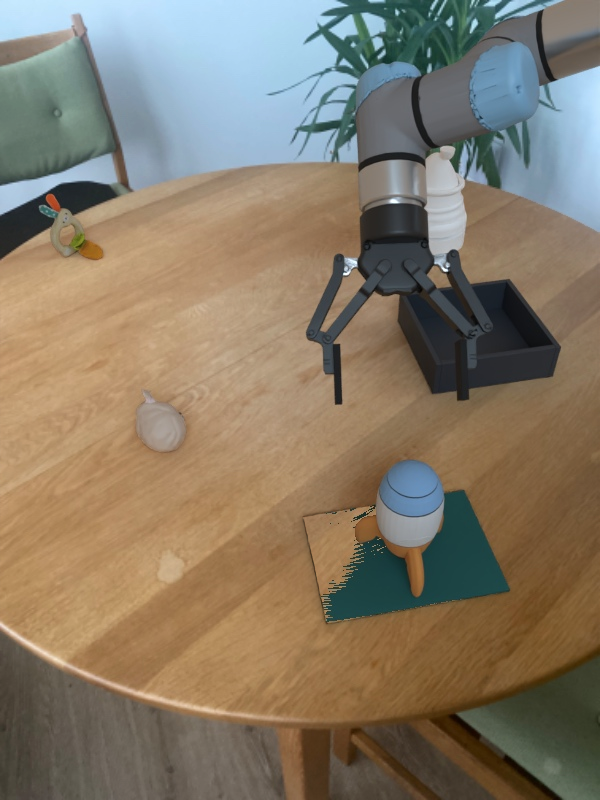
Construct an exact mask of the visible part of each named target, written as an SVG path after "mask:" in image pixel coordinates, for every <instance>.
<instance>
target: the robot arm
mask: <svg viewBox="0 0 600 800" xmlns="http://www.w3.org/2000/svg"><path fill="white" fill-rule="evenodd" d="M598 67H600V0H561V1H559V2H556V3H554V4H551V5H549V6H546V7H545V8H542V9H540V10H537V11H534V12H531V13H529V14H527V15H519V14H518V15H512V16H510V17H506V18H504V19H503V20H500V21H498V22H497V23H494V24H493V25H492V26H491V27H490V28H489V29H488V30H487V31H485V32H484V34H483V36H482V37H481V38H480V40H479V41H478V42H477V43H476V44H475V45H473V46H472V47H471V49H469V51H468V52H466V53H465V54H464V55H463V56H462V57H461V58H460V60H458V61H456V62H454V63H451V64H448V65H446V66H444V67H441V68H439V69H436V70H433V71H431V72H428V73H425V74H423V75H422V73H421V71H420V70H419V68H417V66H415V65H413V64H411V63H408V62H406V61H405V62H404V61H393V62H391V63H384V62H381V63H378V64H376V65H373V66H371V67H370V68H368V69H367V70H365V71H364V72H363V73H362V74H361V76H360V77H359V78H358V81H357V83H356V86H355V87H356V88H355V110H354V122H355V129H356V146H357V147H356V148H357V163H358V164H357V165H358V166H357V168H358V169H357V171H358V172H357V182H358V208H359V211H360V212H361V215H359V234H360V235H359V242H360V244H359V245H360V254H359V255H358V257H352V256H351V257H350V256H345V255H344V254H343V253H336V254H335V255H334V256H333V260H332V261H333V263H332V274H331V276H330V278H329V280H328V283H327V284H326V287H325V289H324V291H323V293H322V295H321V297H320V300H319V302H318V304H317V306H316V308H315V311H314V313H313V315H312V317H311V319H310V320H309V323H308V325H307V328H306V330H305V338H306V340H307V341H310V342H314V343H317V344H319V345H320V346H321V348H322V365H323V366H322V369H323V373H324V375H333V391H334V406H341V405H343V382H342V381H343V379H342V355H341V354H342V352H341V350H342V349H341V343H335V341H336V340H337V339H338V337H340V335H341V334H342V333H343V331H344V330H345V329H346V327H348V325H349V324H350V322H351V321H352V320H353V318H355V316H356V315H357V314H358V312H359V311H360V309H362V307H363V306H364V305H365V304H366V302H368V300H369V299H370V298H371V297H372V295H373V294H374V293H376V294H377V295H379V296H381V297H391V296H394V295H397V296H399V295H401V296H409V295H410V294H412V293H414V292H415V291H416V292H417V293H418V294H419V295H420V296H421V297H422V298H423V299H425V300H426V301H427V302H428V303H429V304H430V305H431V307H432V308H433V309H434V310H435V311H436V312H437V313H438V314H439V315H440V316H441V317H442V318H443V319H444V321H445V322H446V323H447V324H448V325H449V326H450V327H451V328H452V329H453V330H454V331H455V332H456V333H457V335H458V336H459V337H460V338H461V339H460V340H458V341H457V342H455V364H456V387H457V391H456V401H457V402H463V401H469V400H470V389H469V381H468V370H473V369H475V368H476V365H477V351H476V340H477V338H478V337H480V336H482V335H485V334H487V333H488V332H490V331H491V330H492V329H493V324H492V322H491V320H490V318H489V317H488V315H487V313H486V311H485V310H484V308H483V306H482V304H481V302H480V301H479V299H478V297H477V295H476V294H475V292H474V290H473V288H472V286H471V285H470V284H471V283H470V281H469V280H468V277H467V276H466V274H465V273H464V270H463V269H462V263H461V257H460V253H459V250H458V251H457V250H455V249H452V250H450V251H449V252H448V253H444V254H438V255H433V254H432V253H431V251H430V248H429V232H428V212H427V211H426V210H425V209H424V207H425V206H426V205H427V186H426V158H427V152H428V151H430V150H435V149H438V148H439V149H440V148H441V147H442V146H449V145H451V144H455V143H459V142H462V141H466V140H468V139H469V140H470V139H473V138H477V137H480V136H483V135H486V134H490V133H494V132H501V131H505V130H507V129H508V128H510V127H512V126H515V125H517V124H520V123H522V122H525V121H528V120H530V119H531V118H532V117H533V116H534V115H535V114H536V112H537V111H538V108H539V104H540V102H539V100H540V97H541V96H540V95H541V91H540V88H541V87H542V86H545V85H549V84H550V83H553V82H556V81H559V80H561V79H565V78H568V77H570V76H573V75H577V74H579V73H584V72H586V71H590V70H593V69H595V68H598ZM433 267H437V269H439V271H440V273H442V274H444V275H446V278H447V280H448V282H449V284H450V287H451V286H452V288H453V290H454V291H455V293H456V295H457V297H458V299H459V300H460V302H461V304H462V306H463V307H464V309H465V311H466V313H467V315H468V316H469V318H470V320H471V322H472V324H473V325H474V326H472V325H471V324H470V323H469V322H468V321H467V320H466V319H465V318H464V317H463V316H462V314H461V313H460V312H459V311H458V310H457V309H456V308H455V307H454V306H453V305H452V304H451V303H450V302H449V300H448V299H447V298H446V297H445V296H444V295H443V294H442V293H441V292H440V291H439V290H438V289H437V288H438V287H437V285H436V284H435V282H434V281H433V280H432V279H431V278H430V277H429V276H428V275H429V274H430V272H431V270H432V269H433ZM354 270H357V271H358V273H359V274H360V275H361V277H363V279H364V282H363V284H362V285H361V286H360V288H359V290H358V291H357V292H356V294H354V296H352V298H351V300H350V301H348V304H347V305H345V307H344V309H342V311H341V312H340V313H339V315H338V316H337V317H336V319H335V320H334V321H333V322H332V323H331V324H330V326H328V328H327V330H326V331H323V330H321V329H322V327H323V325H324V323H325V320H326V318H327V316H328V314H329V311H330V310H331V308H332V306H333V303H334V301H335V299H336V296H337V295H338V292H339V290H340V289H341V285H342V283H343V280H344V279H343V278H348V277H350V276H351V273H352V271H354Z"/></svg>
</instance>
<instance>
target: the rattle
mask: <svg viewBox="0 0 600 800" xmlns="http://www.w3.org/2000/svg"><path fill="white" fill-rule="evenodd" d="M45 201H46V202H47V204H48V205H49V206H50V207H49V206H47V205H45V204H41V205H38V209H39V212H40V213H41V214H43V215H45V216H47V217H48V218H53V219H54V221H53V224H52V225H51V228H50V231H49V237H50V243H51V245H52V246H53V249H54V250H55V251H57V252H58V253H59V254H60V255H61V256H62V257H64V258H67V257H70V256H71V255H74V254H75V253H76V252H78V253H79V254H80V255H81V256H82V257H85V258H87V259H89V260H100V259H101V258H103V256H104V255H103V253H104V252H103V248H102V247H101V246H100V245H98V244H97V243H94V242H93V241H91V240H88V239H85V238H86V235H85V228H84V226H83V224H82V222H81V221H80V220H79V219H78V218H76V217H74V216H73V213H72V212H71V211H70V210H69V208H64V207H62V208H61V205H60V203H59V202H58V200H57V199H56V196H55V195H54V194H52V193H48V194H47V195H46V196H45ZM70 225H71V226H72V227H73V228H74V236H73V237H72V239H71V242H70V243H69V244H68V245H67V244H64V245H63V243H62V242H61V238H60V237H61V236H60V235H61V231H62V229H63V228H67V227H70Z"/></svg>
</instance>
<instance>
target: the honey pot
mask: <svg viewBox="0 0 600 800" xmlns="http://www.w3.org/2000/svg"><path fill="white" fill-rule="evenodd" d="M455 152H456V148H455V146H452V145H445V146H442V147H439V151H438V152H433V153H431V154H429V155H428V156H426V186H427V205H426V206H425V207H424V209H425V210H426V211H427V212H428V232H429V248H430V251H431V253H432V254H433V255H438V254H444V253H448V252H449V251H450V250H452V249H455V250H457V251H458V252H459V251H460V250H461V249H462V247H463V246H464V242H465V236H466V228H467V227H466V226H467V220H468V216H467V215H468V214H467V212H466V209H465V203H464V195H463V194H462V190H464V188H465V187H466V180H465V178H464V177H463V176H462V174H460V173H458V172H456V171H455V168H454V167H453V164H452V162H451V161H450V160H451V159H452V158H453V157H454V155H455Z"/></svg>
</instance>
